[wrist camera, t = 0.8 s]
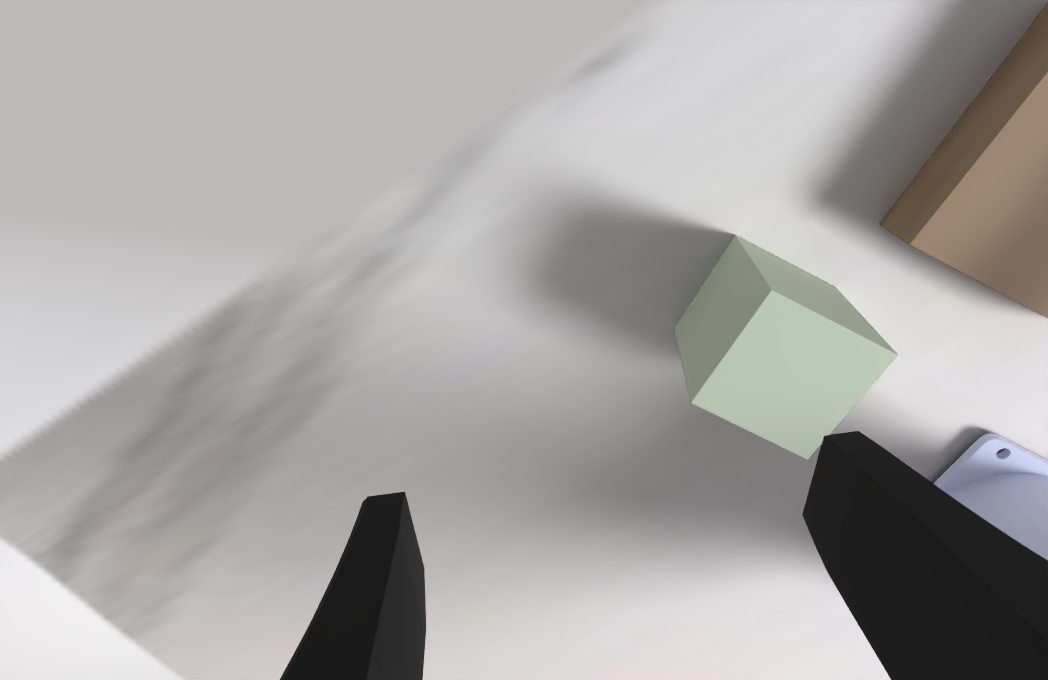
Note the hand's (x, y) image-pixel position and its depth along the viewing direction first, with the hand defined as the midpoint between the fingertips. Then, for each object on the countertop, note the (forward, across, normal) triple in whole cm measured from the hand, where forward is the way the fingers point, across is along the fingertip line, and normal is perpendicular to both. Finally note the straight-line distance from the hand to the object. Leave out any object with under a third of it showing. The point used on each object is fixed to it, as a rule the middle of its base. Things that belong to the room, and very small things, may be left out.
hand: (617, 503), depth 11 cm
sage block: (+13, -9, +5) cm, 17 cm away
